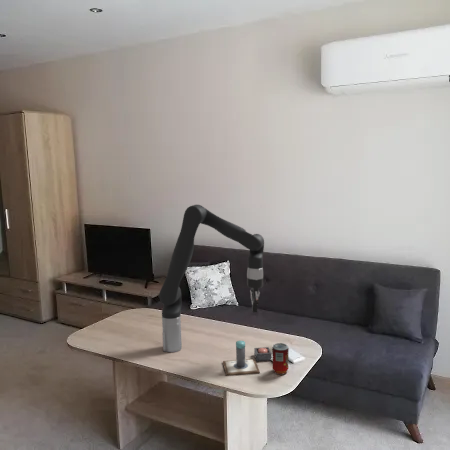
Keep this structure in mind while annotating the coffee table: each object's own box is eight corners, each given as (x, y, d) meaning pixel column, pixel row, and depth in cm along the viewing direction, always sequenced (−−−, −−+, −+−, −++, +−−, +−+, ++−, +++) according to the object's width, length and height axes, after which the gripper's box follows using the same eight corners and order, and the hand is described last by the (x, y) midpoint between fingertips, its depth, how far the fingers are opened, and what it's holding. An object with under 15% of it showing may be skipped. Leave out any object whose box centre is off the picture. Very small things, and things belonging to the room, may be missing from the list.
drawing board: (226, 375, 196) (226, 373, 196) (222, 362, 209) (222, 360, 209) (259, 373, 198) (259, 371, 198) (254, 360, 211) (254, 358, 211)
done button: (259, 357, 211) (259, 352, 211) (257, 353, 215) (257, 348, 215) (268, 356, 212) (268, 351, 211) (266, 352, 216) (266, 347, 216)
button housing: (257, 361, 210) (256, 354, 209) (254, 354, 217) (254, 348, 216) (271, 360, 211) (271, 353, 210) (268, 353, 218) (268, 347, 217)
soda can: (289, 375, 196) (289, 348, 194) (272, 375, 196) (272, 348, 194) (287, 367, 203) (287, 342, 201) (272, 367, 203) (272, 342, 201)
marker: (236, 367, 201) (236, 344, 200) (235, 363, 205) (235, 340, 204) (246, 367, 202) (245, 344, 200) (244, 363, 206) (244, 340, 204)
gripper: (245, 273, 216) (244, 307, 219) (249, 280, 203) (248, 317, 206) (260, 272, 217) (259, 307, 220) (265, 280, 204) (265, 316, 207)
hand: (254, 311), depth 213 cm, fingers closed
